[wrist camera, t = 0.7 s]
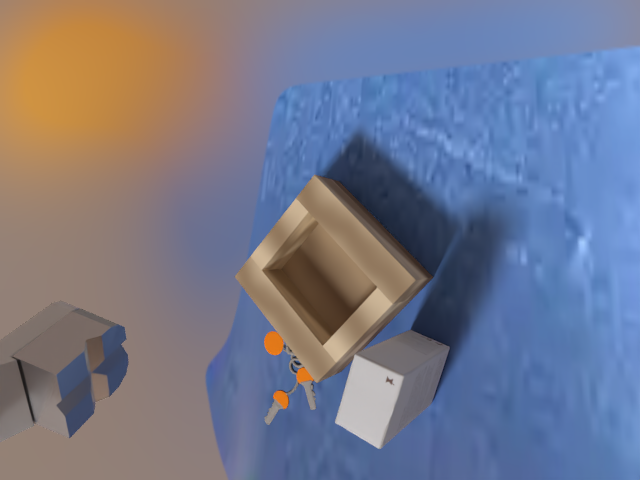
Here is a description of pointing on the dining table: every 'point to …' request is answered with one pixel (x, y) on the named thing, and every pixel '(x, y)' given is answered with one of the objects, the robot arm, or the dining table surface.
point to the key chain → (303, 377)
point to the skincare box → (390, 386)
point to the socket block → (330, 277)
